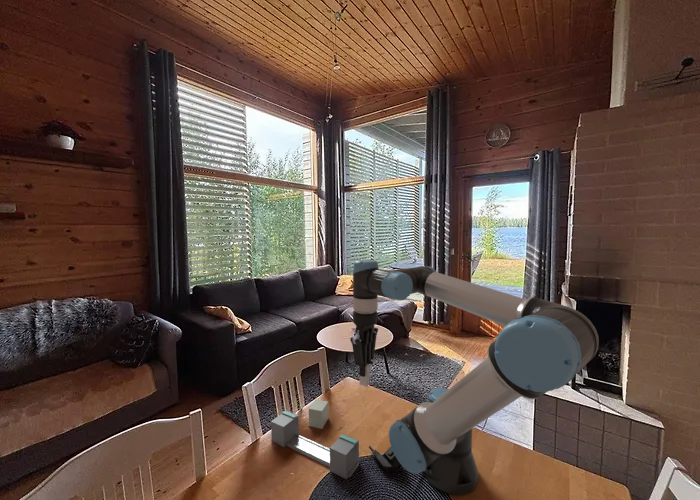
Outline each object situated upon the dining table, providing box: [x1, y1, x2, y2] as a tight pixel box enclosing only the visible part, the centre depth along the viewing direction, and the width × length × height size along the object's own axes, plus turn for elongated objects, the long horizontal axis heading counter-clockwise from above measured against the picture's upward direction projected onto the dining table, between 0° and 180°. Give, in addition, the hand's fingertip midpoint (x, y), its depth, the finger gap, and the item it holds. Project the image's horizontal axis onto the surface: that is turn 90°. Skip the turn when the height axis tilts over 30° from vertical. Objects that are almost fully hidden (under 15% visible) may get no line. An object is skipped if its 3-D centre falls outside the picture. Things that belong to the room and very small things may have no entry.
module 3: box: [329, 433, 360, 480], centre depth 89 cm, size 6×7×7 cm
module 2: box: [308, 399, 329, 430], centre depth 109 cm, size 5×6×7 cm
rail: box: [285, 434, 360, 478], centre depth 95 cm, size 30×5×1 cm, turn 58°
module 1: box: [270, 410, 300, 448], centre depth 101 cm, size 6×7×7 cm
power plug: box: [368, 445, 404, 473], centre depth 91 cm, size 6×8×12 cm
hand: (364, 384), depth 95 cm, fingers closed
